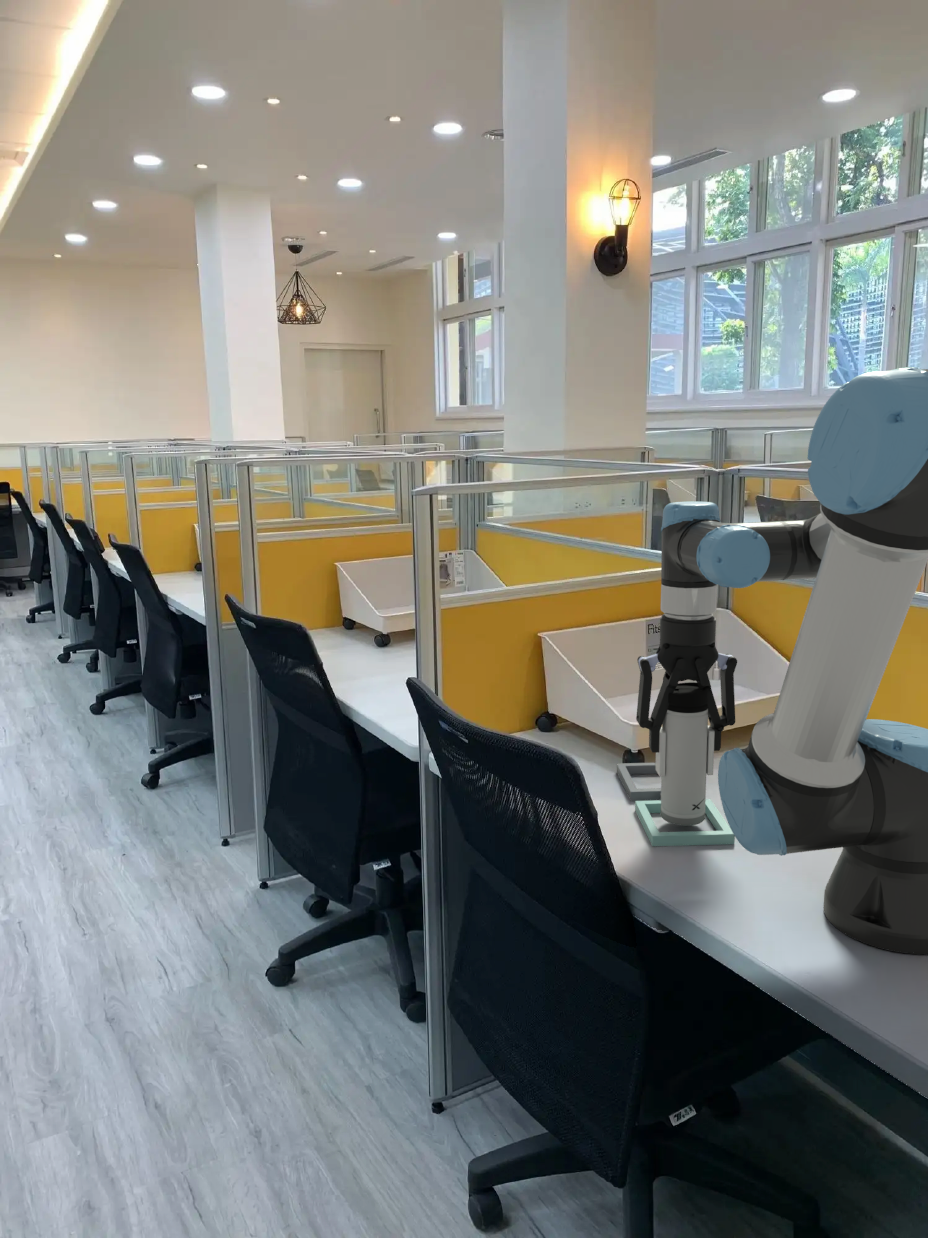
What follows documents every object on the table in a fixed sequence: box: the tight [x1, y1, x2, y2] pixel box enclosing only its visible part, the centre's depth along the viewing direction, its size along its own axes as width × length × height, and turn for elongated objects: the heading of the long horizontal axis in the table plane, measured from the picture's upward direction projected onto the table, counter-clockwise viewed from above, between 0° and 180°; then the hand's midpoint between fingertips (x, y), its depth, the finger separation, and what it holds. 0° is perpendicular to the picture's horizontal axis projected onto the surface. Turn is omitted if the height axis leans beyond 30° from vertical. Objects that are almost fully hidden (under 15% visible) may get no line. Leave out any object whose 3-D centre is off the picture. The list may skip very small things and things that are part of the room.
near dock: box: [634, 798, 736, 847], centre depth 134 cm, size 12×11×2 cm
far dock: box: [616, 762, 661, 802], centre depth 148 cm, size 16×11×2 cm
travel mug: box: [660, 681, 712, 827], centre depth 132 cm, size 6×7×20 cm
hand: (684, 772), depth 133 cm, fingers closed on travel mug, 6 cm apart
